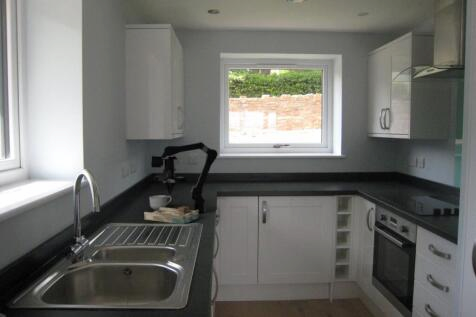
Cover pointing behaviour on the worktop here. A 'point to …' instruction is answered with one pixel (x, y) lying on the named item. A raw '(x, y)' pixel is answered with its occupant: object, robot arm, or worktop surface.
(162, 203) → the teacup
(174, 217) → the track
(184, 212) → the walnut block
